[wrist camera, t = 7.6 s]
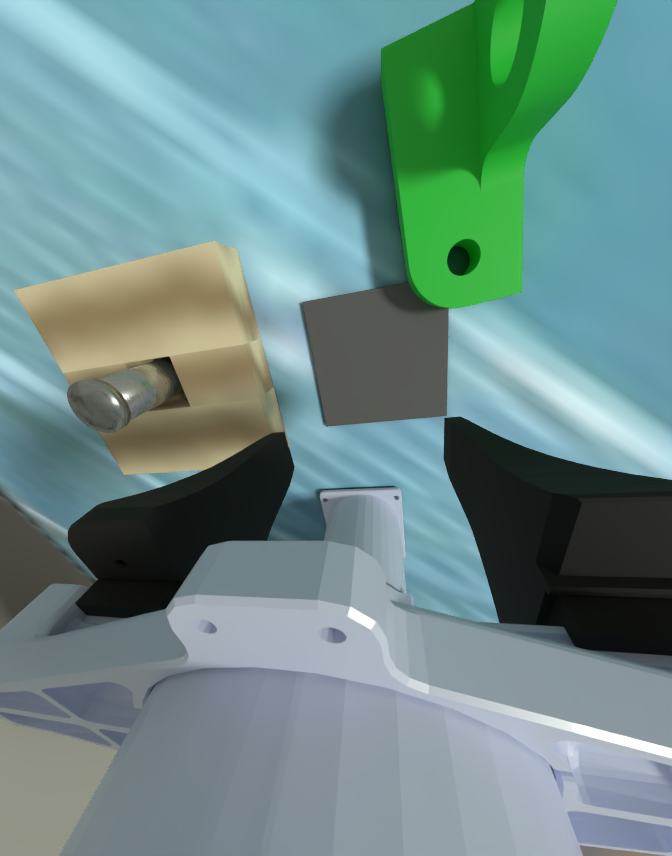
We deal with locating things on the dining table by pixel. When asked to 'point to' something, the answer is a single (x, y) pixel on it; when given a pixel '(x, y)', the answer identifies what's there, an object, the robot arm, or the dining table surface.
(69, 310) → the socket block
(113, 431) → the pin
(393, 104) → the mechanical part
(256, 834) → the robot arm
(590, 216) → the dining table surface
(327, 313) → the mat
